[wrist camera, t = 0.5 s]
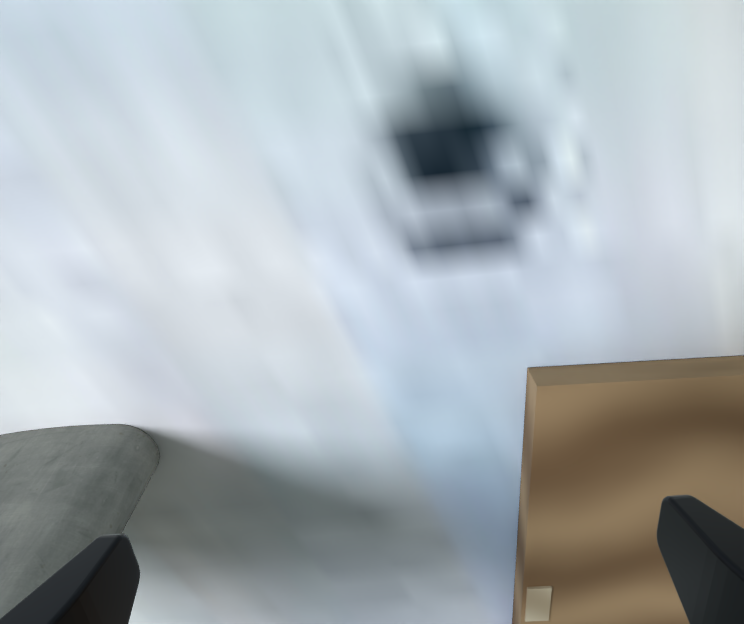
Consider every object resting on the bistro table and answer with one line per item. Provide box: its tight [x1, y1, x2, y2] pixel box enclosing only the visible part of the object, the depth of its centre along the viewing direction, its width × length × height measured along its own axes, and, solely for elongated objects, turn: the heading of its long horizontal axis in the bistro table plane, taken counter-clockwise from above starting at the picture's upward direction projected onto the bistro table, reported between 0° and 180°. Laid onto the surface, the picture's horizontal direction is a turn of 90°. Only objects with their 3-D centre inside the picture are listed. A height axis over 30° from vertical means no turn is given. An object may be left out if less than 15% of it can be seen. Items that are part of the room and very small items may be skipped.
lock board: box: [512, 356, 744, 624], centre depth 27 cm, size 22×22×2 cm
